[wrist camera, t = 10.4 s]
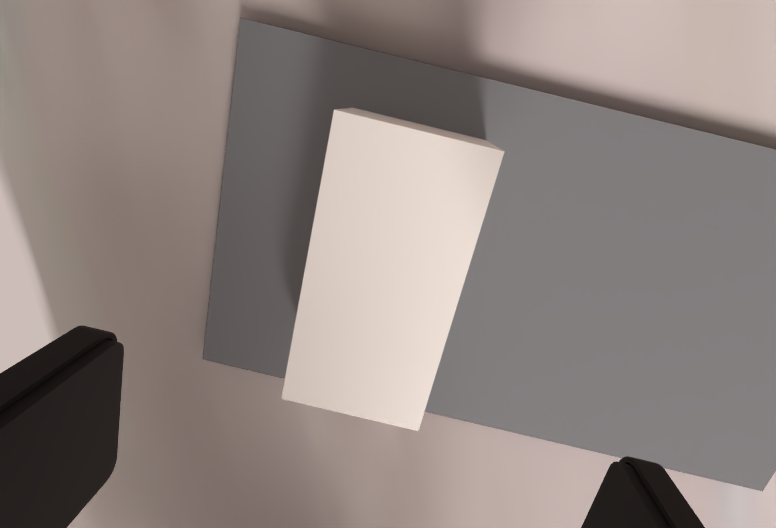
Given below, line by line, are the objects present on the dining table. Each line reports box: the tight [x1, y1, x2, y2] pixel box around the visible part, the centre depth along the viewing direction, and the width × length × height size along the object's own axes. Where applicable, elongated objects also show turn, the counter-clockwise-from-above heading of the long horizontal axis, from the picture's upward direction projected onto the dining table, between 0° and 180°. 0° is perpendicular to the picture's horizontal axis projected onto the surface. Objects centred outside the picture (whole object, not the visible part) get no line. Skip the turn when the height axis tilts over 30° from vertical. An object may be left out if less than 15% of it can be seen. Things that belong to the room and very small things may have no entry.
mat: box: [203, 18, 776, 491], centre depth 19 cm, size 14×26×1 cm, turn 77°
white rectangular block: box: [281, 108, 505, 431], centre depth 17 cm, size 5×10×4 cm, turn 167°
